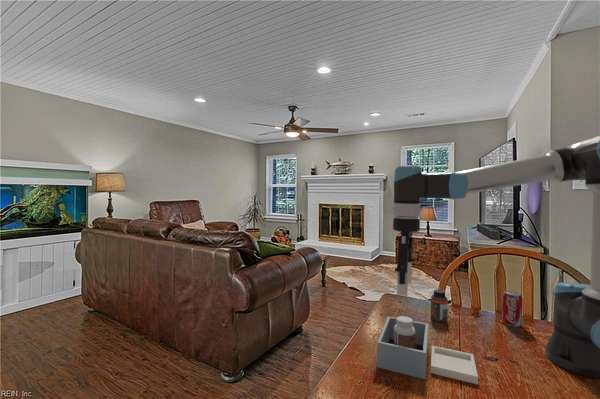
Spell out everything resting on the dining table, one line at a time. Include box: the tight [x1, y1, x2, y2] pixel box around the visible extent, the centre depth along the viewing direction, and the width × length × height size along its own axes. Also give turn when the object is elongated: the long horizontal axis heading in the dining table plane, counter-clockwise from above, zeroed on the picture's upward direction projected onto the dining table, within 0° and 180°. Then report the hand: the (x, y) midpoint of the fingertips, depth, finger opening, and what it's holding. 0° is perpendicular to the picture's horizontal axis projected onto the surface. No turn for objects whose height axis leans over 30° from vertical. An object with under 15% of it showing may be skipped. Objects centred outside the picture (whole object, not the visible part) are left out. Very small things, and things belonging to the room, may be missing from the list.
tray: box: [430, 345, 479, 385], centre depth 83 cm, size 11×12×2 cm
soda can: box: [501, 290, 524, 328], centre depth 111 cm, size 6×6×12 cm
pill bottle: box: [393, 315, 416, 349], centre depth 88 cm, size 6×6×11 cm
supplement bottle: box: [430, 289, 449, 323], centre depth 115 cm, size 6×6×11 cm
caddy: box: [376, 316, 429, 381], centre depth 88 cm, size 13×20×7 cm, turn 155°
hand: (404, 288), depth 88 cm, fingers open, 13 cm apart
